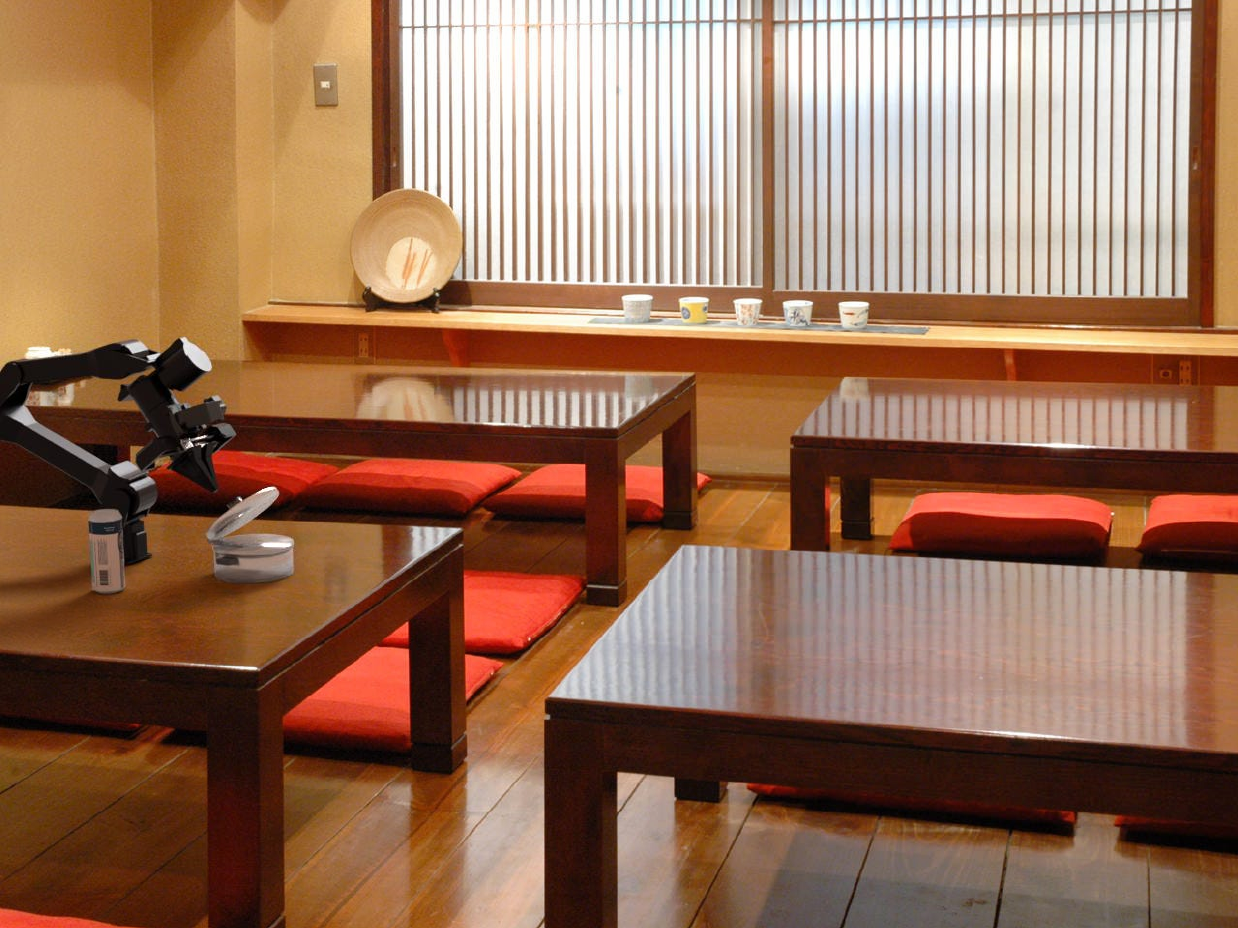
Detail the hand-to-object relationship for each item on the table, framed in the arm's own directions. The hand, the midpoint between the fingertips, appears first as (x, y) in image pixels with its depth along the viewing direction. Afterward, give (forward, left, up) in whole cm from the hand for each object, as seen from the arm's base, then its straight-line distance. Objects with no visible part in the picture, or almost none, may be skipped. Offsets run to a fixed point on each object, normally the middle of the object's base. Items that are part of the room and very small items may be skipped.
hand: (215, 491), depth 247 cm
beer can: (-8, -17, -13) cm, 22 cm away
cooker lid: (+5, 0, -4) cm, 6 cm away
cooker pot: (+6, 0, -13) cm, 14 cm away
